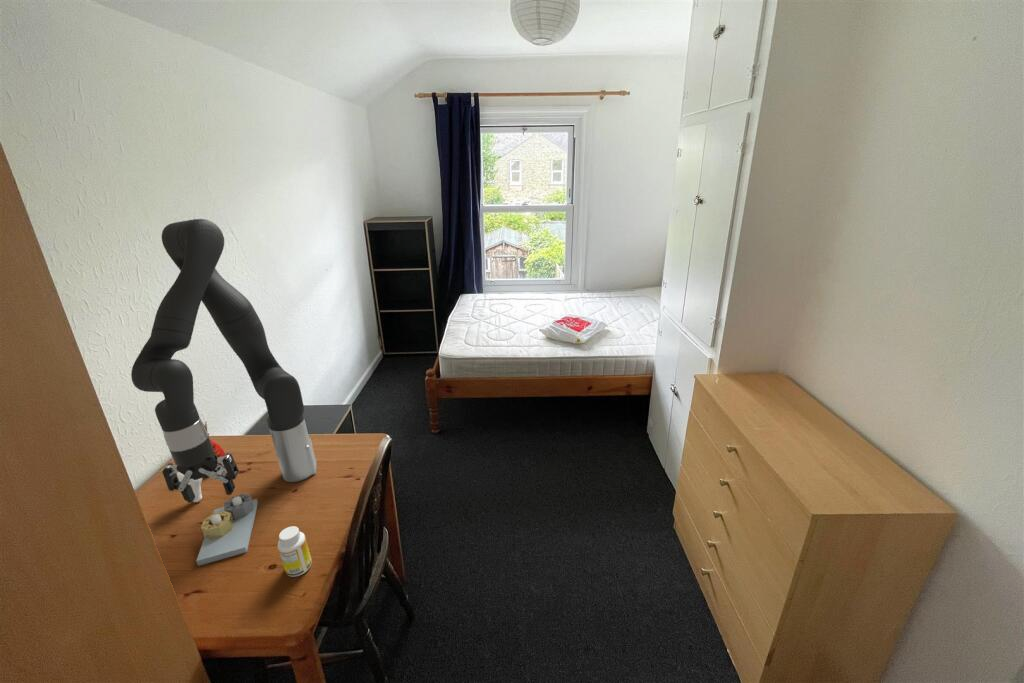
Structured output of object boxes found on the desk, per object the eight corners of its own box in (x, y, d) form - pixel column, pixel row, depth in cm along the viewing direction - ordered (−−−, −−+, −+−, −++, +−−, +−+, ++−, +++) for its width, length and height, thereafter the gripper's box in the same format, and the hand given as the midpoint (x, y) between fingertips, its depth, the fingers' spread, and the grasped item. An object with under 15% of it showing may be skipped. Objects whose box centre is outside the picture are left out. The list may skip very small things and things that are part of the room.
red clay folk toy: (195, 475, 134) (179, 432, 128) (210, 460, 140) (196, 419, 135) (219, 474, 133) (205, 431, 128) (234, 460, 140) (220, 419, 135)
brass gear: (235, 518, 114) (232, 508, 113) (230, 534, 108) (227, 525, 107) (209, 524, 112) (205, 515, 111) (202, 542, 106) (198, 532, 105)
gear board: (257, 503, 121) (252, 486, 119) (246, 551, 105) (240, 534, 103) (215, 514, 117) (209, 497, 115) (198, 565, 102) (190, 547, 100)
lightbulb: (182, 512, 119) (169, 478, 115) (186, 498, 124) (173, 466, 120) (209, 504, 121) (197, 470, 117) (211, 491, 126) (200, 458, 122)
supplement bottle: (305, 553, 104) (295, 519, 100) (316, 565, 100) (307, 530, 97) (281, 569, 100) (270, 534, 96) (292, 582, 96) (281, 546, 93)
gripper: (228, 425, 105) (248, 480, 111) (161, 436, 102) (185, 492, 108) (216, 443, 98) (238, 501, 104) (144, 456, 95) (171, 514, 102)
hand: (211, 496), depth 106 cm, fingers open, 8 cm apart
